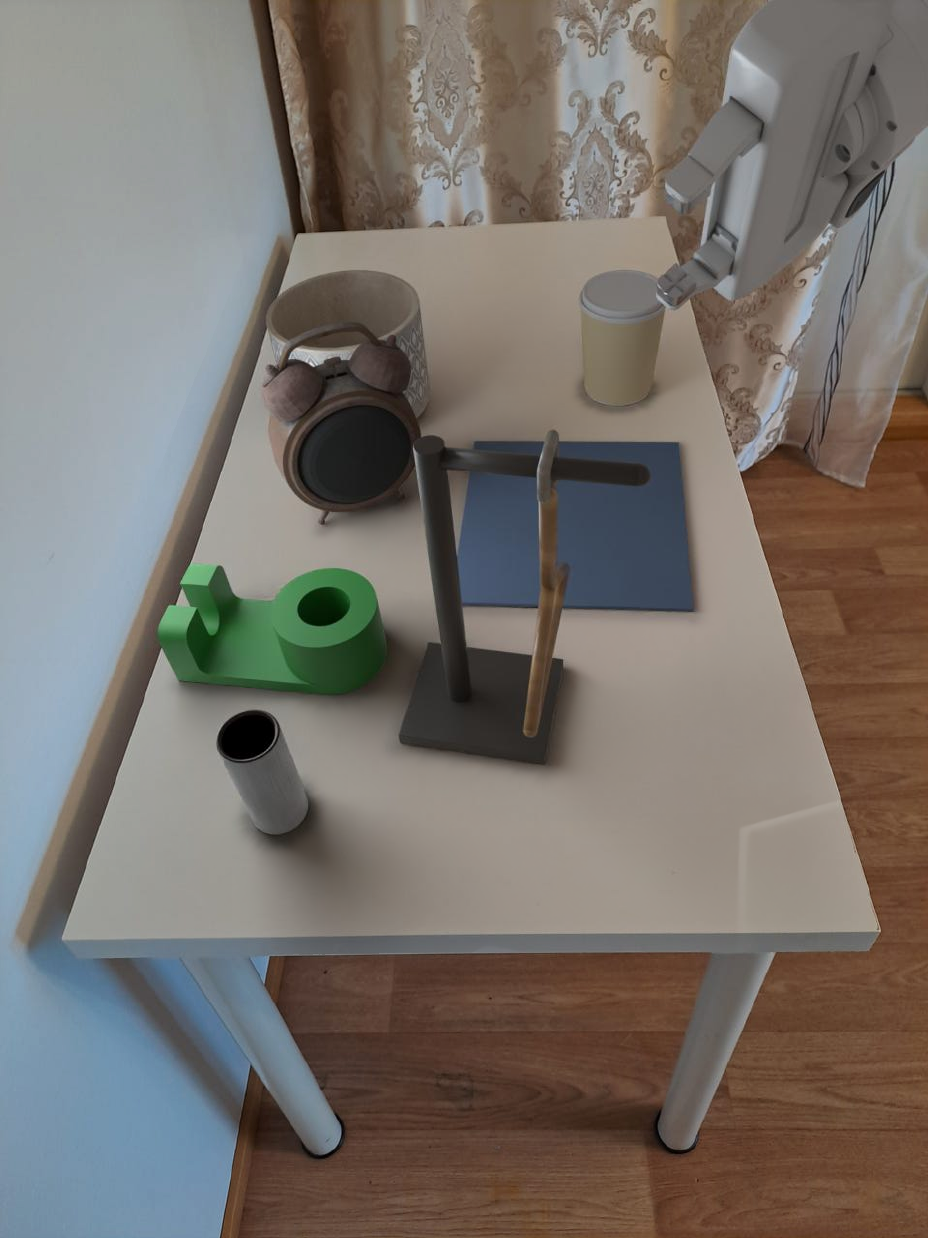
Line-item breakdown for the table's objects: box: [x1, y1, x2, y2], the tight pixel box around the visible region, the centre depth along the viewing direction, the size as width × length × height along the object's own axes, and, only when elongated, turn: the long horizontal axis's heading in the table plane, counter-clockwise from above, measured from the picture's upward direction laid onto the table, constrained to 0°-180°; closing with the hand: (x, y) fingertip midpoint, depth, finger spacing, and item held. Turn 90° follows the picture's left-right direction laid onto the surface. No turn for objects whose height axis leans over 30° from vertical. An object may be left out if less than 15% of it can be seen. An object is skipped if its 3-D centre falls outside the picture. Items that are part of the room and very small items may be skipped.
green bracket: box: [157, 563, 388, 696], centre depth 79 cm, size 18×9×6 cm, turn 80°
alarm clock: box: [260, 322, 422, 525], centre depth 87 cm, size 14×7×20 cm, turn 112°
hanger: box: [523, 429, 570, 738], centre depth 62 cm, size 1×17×19 cm, turn 167°
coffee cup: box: [578, 269, 667, 407], centre depth 100 cm, size 9×9×12 cm
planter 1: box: [215, 709, 309, 835], centre depth 67 cm, size 4×4×10 cm
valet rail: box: [398, 434, 650, 765], centre depth 65 cm, size 18×10×27 cm, turn 77°
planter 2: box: [265, 269, 431, 420], centre depth 101 cm, size 16×16×13 cm
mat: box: [457, 440, 694, 612], centre depth 90 cm, size 22×24×1 cm
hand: (667, 253), depth 50 cm, fingers open, 8 cm apart
